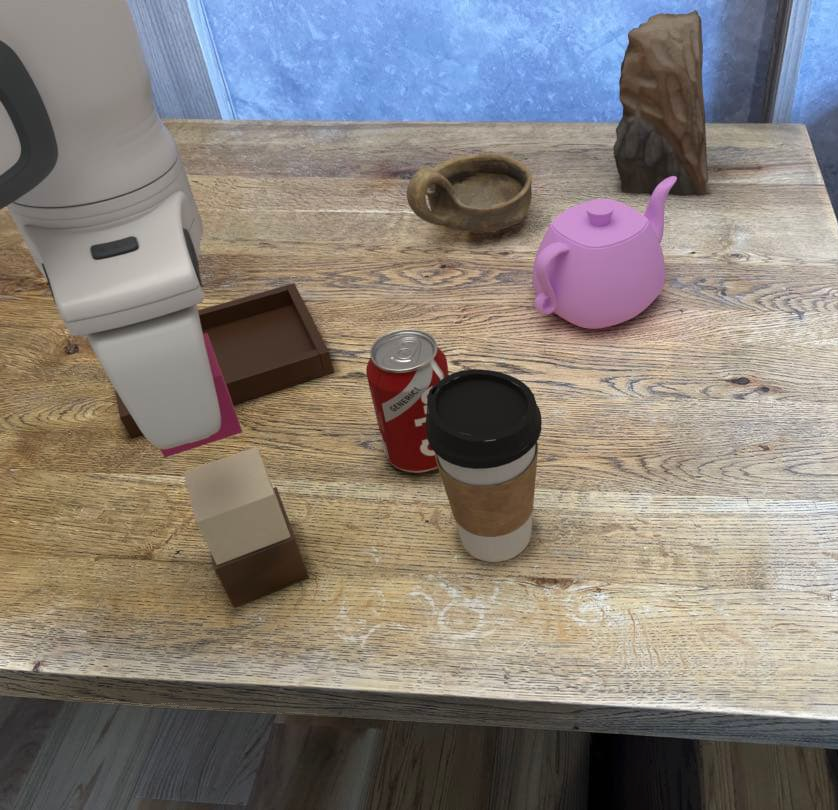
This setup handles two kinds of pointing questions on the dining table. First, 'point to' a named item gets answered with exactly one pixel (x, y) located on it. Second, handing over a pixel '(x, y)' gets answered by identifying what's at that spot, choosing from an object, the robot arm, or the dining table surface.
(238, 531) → the cream block
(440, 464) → the coffee cup
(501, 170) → the bowl
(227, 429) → the pink block
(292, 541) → the walnut block
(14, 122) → the robot arm
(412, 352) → the soda can
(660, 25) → the brown rock
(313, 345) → the tray
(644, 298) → the teapot
